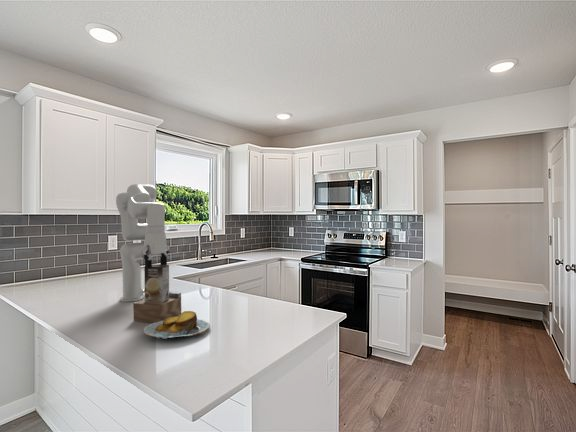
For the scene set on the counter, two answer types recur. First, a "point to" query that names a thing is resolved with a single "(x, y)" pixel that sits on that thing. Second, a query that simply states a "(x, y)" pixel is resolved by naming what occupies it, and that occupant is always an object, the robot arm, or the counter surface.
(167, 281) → the coffee box
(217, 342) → the counter surface
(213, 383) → the counter surface
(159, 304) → the display stand
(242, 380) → the counter surface
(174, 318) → the food on plate
